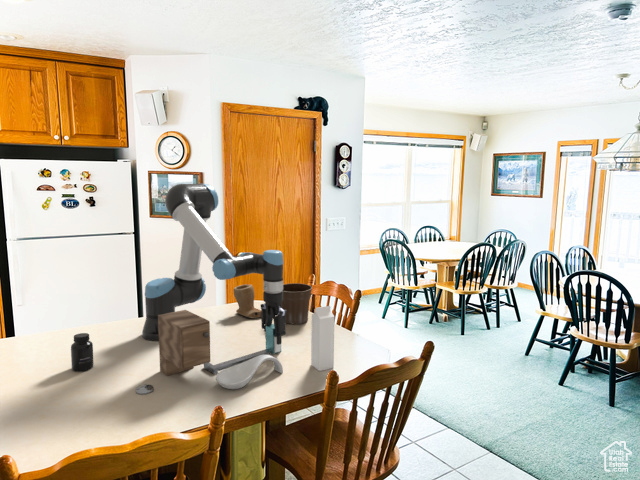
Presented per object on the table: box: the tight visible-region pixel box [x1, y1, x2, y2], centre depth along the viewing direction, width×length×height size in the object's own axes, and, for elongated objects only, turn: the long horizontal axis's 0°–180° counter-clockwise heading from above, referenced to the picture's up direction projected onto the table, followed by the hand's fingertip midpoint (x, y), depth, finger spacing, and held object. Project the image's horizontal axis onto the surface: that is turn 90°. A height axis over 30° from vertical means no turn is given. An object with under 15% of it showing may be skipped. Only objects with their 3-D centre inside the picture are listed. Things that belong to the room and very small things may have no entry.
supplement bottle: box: [70, 332, 95, 373], centre depth 160 cm, size 7×7×12 cm
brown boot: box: [233, 283, 261, 319], centre depth 223 cm, size 15×12×15 cm
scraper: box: [203, 323, 282, 375], centre depth 169 cm, size 7×30×10 cm, turn 133°
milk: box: [310, 305, 335, 372], centre depth 163 cm, size 6×6×22 cm
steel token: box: [135, 384, 154, 396], centre depth 145 cm, size 5×5×1 cm
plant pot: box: [281, 282, 313, 325], centre depth 215 cm, size 16×16×16 cm
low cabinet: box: [158, 309, 211, 377], centre depth 154 cm, size 19×10×20 cm, turn 43°
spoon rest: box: [215, 354, 284, 390], centre depth 153 cm, size 24×12×7 cm, turn 131°
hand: (273, 349), depth 178 cm, fingers open, 5 cm apart
